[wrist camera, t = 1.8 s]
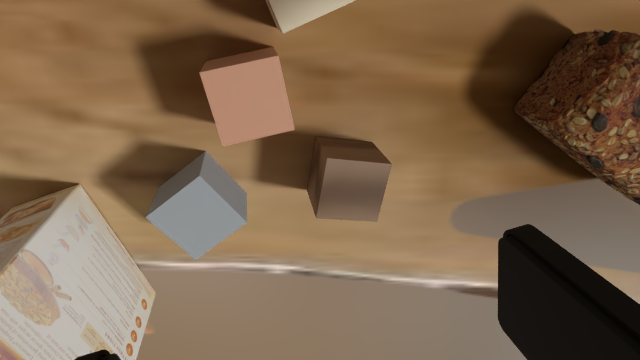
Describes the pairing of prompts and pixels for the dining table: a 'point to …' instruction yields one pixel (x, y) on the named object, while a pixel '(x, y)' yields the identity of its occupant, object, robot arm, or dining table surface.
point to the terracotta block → (247, 96)
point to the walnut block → (347, 179)
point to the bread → (593, 106)
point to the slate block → (199, 206)
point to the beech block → (300, 11)
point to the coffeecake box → (67, 283)
